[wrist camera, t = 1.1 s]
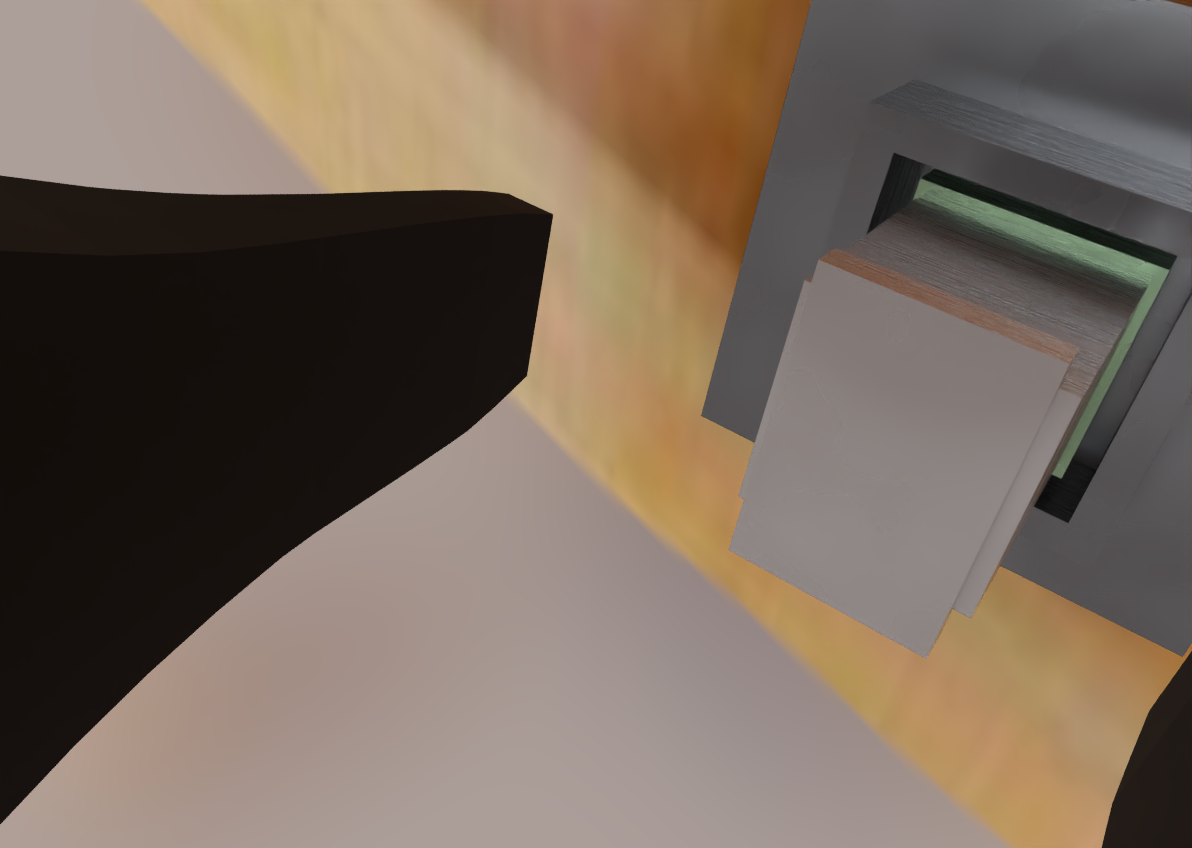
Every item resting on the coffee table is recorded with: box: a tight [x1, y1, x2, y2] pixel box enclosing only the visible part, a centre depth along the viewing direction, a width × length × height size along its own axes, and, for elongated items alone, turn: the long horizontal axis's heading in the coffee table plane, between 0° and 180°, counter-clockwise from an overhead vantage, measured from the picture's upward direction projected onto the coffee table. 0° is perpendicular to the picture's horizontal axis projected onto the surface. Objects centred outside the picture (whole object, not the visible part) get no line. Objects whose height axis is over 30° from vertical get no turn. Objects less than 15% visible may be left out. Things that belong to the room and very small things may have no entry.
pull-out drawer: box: [729, 169, 1177, 658], centre depth 16 cm, size 4×5×6 cm
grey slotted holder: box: [701, 0, 1192, 657], centre depth 17 cm, size 10×10×5 cm
